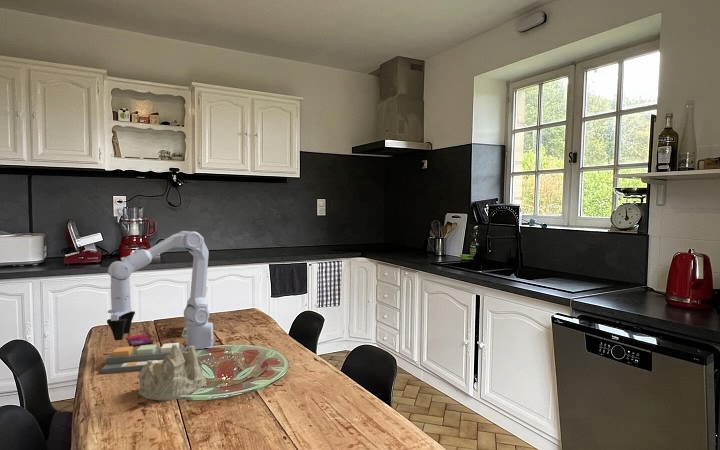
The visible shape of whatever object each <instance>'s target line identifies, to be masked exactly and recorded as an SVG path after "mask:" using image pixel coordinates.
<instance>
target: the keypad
mask: <svg viewBox="0 0 720 450" xmlns="http://www.w3.org/2000/svg"><path fill="white" fill-rule="evenodd" d="M161 347H162V346H160V347H157V346H156V351H155V352H154V354H141V355H137V349H138V348H133V352H132V353H131V354H130V355H129V356H116V357H112V352H111V353H110V354H109V355H107V357H106V358H105V365H104V366H103V367H102V368H101V374H104V375H105V374H114V373H125V372H140V371H141V370H142V369H143V367H144V365H145V364H147V362H148V360H150V361H152V363H153V365H155V363H159V362H160V361H162V360H164V359H165V357H166V355H168V354H171V352H167V353H161ZM179 349H180V350H181V352H188V350H187V348H185V345H184V344H183V345H179Z"/></svg>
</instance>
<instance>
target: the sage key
mask: <svg viewBox="0 0 720 450" xmlns="http://www.w3.org/2000/svg"><path fill="white" fill-rule="evenodd" d="M156 348H157V344H155V343H154V344H148V345H142V346H138V348H136V349H137V355H141V354H154V352H155V351H156Z"/></svg>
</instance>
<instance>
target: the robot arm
mask: <svg viewBox="0 0 720 450" xmlns="http://www.w3.org/2000/svg"><path fill="white" fill-rule="evenodd" d="M173 248H183V249H185V250H186V251H188V252H189V253H190V254H191V255H192V257H193V259H192V260H193V261H192V270H191V271H192V272H191V283H190V292H189V293H190V294H189V298H188V299H187V301H186V302H187V303H186V306H185V307H184V309H183V316H184V317H185V318H186V319H187V337H186V346H184V348H187V351H188V347H189V346H191V345H193V346H195V350H205V349H204V348H208V349H212V348H213V345H214V341H215V339H214V323H213V322H209V320H210V311H209V310H208V308H209V307H208V302H207V300H206V296H205V291H206V287H207V278H208V268H209V266H208V264H209V253H210V252H209V249H208V247H207V245H206V243H205V238H204V236H202V235H201V234H200V233H199V232H197V231H187V230H181V231H179V232H178V233H174V234H172V235H171V236H169V237H167V238H165V239H163V240H162V241H161V242H158V243H157V244H155V245H154V246H152V247H150V248H148V249H143V248H141V249H135V250H133V253H131V254H129V255H128V256H123V257H120V260H116V261H113V262H112V263H111V264H110V265H109V267H108V269H107V274H108V275H109V277H110V300H111V301H110V304H111V309H108V310H107V314H111V315H110V318H109V319H107V320H106V323H107V325H108V326H109V328H110V330H111V332H112V335H113V339H114V341H122V340H123V338H124V335H125V334H128V335H129V334H130V331H131V327H132V321H133V319H134V316H135V315H136V311H135V310H134V311H132V305H131V303H132V302H131V283H130V277H131V275H132V274H133V273H135V272H136V271H138V270H140V269H142V268H144V267H145V266H148V265H149V264H151V263H152V260H153V258H154V257H157V256H159V255H161V254H163V253H165V252H167V251H169V250H171V249H173ZM184 317H183V318H184ZM207 320H208V322H207Z"/></svg>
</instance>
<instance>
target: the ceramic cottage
mask: <svg viewBox="0 0 720 450" xmlns="http://www.w3.org/2000/svg"><path fill="white" fill-rule="evenodd" d="M196 351H197V350H196V349H195V346H193V345H191V346H189V347H188V350H187V352H181V350H180V349H179V348H178V347H177V345H176V344H173V345H172V348H171V354H168V355H166V357H165V359H164V360H162V361H160V362H159V363H155V365H153V363H152V361H150V360H148V362H147V364H145V365H144V367H143V369H142V370H139V373H138V374H137V376H136V377H137V379H139V389H138V395H140V396H142V397H143V398H145V399H147V400H152V401H173V400H179V399H180V398H179V396H181V395H185V394H189V393H191V392H193V391H194V390H197V389H199V388H201V387H202V388H204V387H206V386H205V385H207V384H208V383H207V379H206V376H205V375H204V374H203V369H202V366H203V363H202V362H201V361H200V359H199V358H198V355H197V352H196ZM206 383H207V384H206ZM203 386H204V387H203ZM202 388H201V389H202ZM199 390H200V389H199ZM197 391H198V390H197ZM193 393H194V392H193Z"/></svg>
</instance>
